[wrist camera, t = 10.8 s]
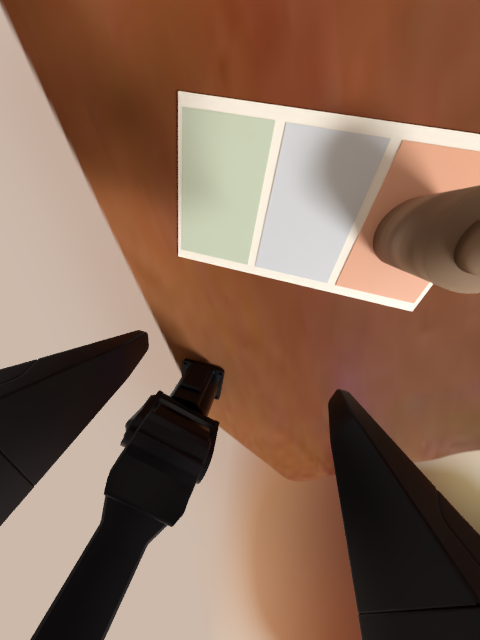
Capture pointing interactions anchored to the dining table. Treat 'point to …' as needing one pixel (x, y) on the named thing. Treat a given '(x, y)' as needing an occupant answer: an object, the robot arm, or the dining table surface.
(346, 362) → the dining table surface
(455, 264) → the walnut pawn
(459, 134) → the game board
